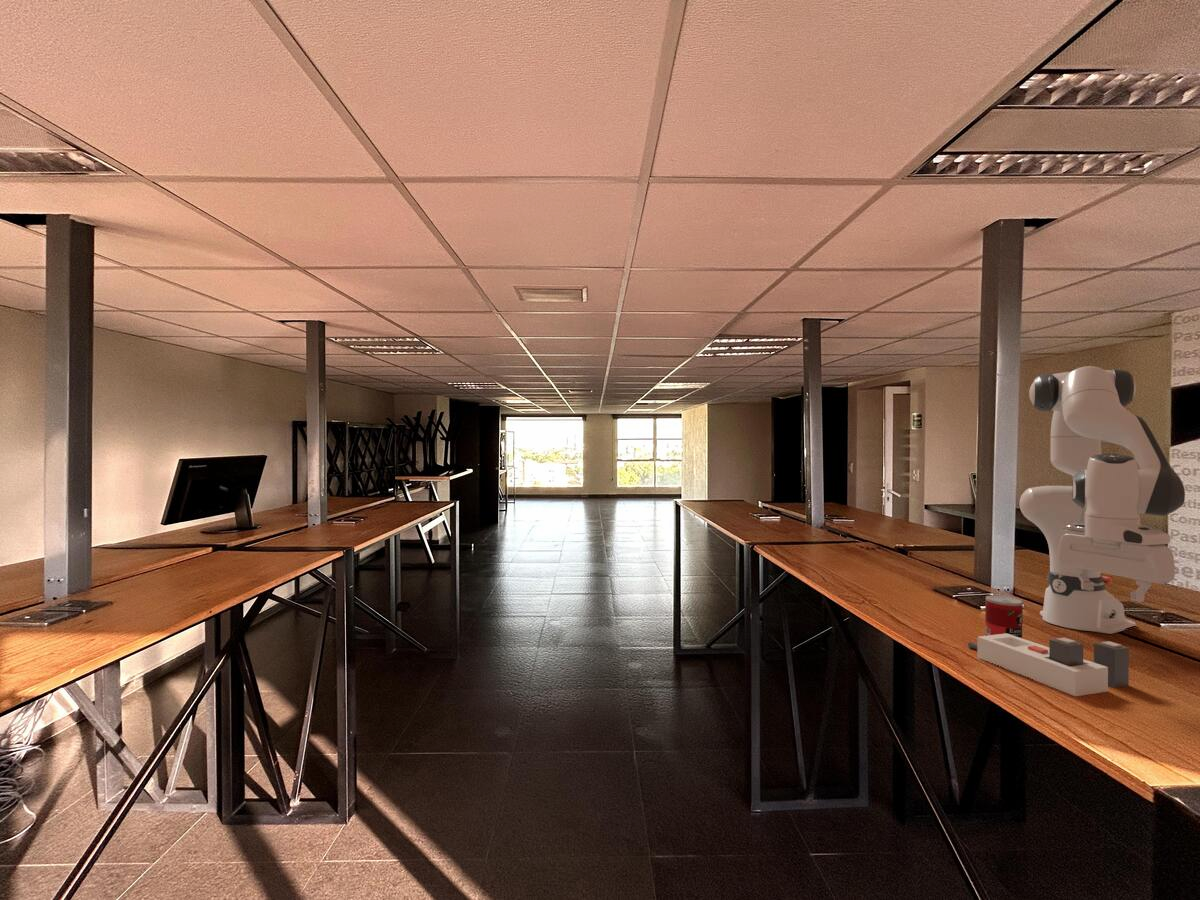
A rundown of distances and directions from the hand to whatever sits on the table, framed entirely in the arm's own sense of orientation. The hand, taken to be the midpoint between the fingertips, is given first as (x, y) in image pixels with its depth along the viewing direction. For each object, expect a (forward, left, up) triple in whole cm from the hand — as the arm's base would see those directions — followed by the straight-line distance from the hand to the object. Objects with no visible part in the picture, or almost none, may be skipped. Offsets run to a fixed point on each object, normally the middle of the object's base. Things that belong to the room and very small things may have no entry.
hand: (1111, 595), depth 122 cm
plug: (0, 0, -19) cm, 19 cm away
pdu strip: (+10, -11, -19) cm, 24 cm away
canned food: (-2, -26, -19) cm, 32 cm away
